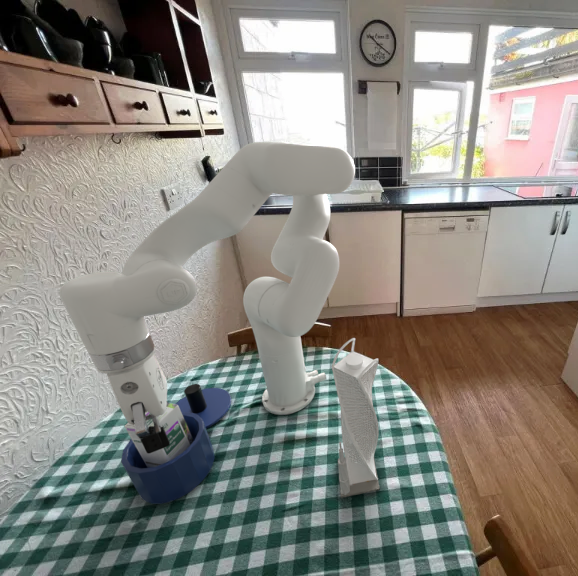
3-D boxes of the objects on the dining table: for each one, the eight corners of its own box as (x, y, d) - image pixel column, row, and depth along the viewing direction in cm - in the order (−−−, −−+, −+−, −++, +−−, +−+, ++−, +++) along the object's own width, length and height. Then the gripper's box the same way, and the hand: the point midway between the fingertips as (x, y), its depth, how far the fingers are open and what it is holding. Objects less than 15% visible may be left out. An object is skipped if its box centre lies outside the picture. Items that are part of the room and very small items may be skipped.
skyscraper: (338, 455, 63) (324, 339, 51) (377, 448, 64) (373, 333, 52) (340, 497, 55) (326, 373, 43) (385, 488, 57) (383, 365, 45)
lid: (228, 384, 82) (221, 362, 79) (235, 419, 72) (228, 395, 68) (167, 405, 76) (157, 382, 73) (166, 447, 65) (154, 422, 62)
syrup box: (179, 485, 57) (152, 429, 51) (152, 479, 58) (122, 424, 52) (201, 457, 62) (179, 403, 56) (176, 452, 63) (152, 399, 57)
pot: (211, 432, 68) (201, 403, 65) (217, 480, 59) (205, 449, 55) (141, 460, 62) (126, 430, 59) (135, 518, 53) (116, 487, 49)
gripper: (149, 373, 43) (185, 458, 51) (155, 319, 57) (183, 392, 64) (78, 394, 40) (128, 482, 47) (103, 331, 54) (139, 407, 61)
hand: (159, 430), depth 56 cm, fingers closed on syrup box, 7 cm apart
